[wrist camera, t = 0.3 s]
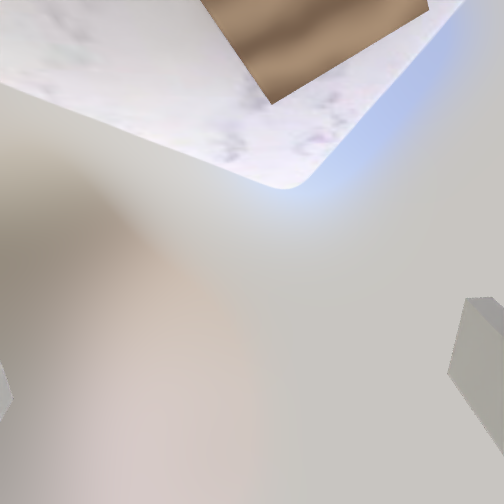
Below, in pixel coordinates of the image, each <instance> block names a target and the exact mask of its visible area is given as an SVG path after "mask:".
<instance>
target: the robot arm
mask: <svg viewBox="0 0 504 504" xmlns="http://www.w3.org/2000/svg"><path fill="white" fill-rule="evenodd" d="M447 374H448V375H449V377H450V378H451V380H452V381H453V383H454V384H455V386H456V387H457V388H458V390H459V391H460V393H461V394H462V396H463V397H464V399H465V400H466V401H467V403H468V404H469V406H470V407H471V409H472V410H473V411H474V413H475V415H476V416H477V418H478V419H479V420H480V422H481V423H482V425H483V426H484V428H485V429H486V431H487V432H488V433H489V435H490V436H491V438H492V439H493V441H494V442H495V444H496V445H497V446H498V448H499V449H500V451H501V452H502V454H503V455H504V308H503V307H502V306H501V305H500V304H499V303H498V302H497V301H496V300H494V298H492V297H483V298H466V299H465V303H464V307H463V311H462V316H461V320H460V324H459V328H458V332H457V336H456V340H455V344H454V348H453V353H452V357H451V361H450V365H449V369H448V373H447ZM13 399H14V398H13V395H12V392H11V389H10V387H9V384H8V381H7V378H6V375H5V372H4V369H3V366H2V364H1V361H0V421H1V419H2V418H3V416H4V414H5V413H6V411H7V409H8V407H9V406H10V404H11V402H12V401H13Z"/></svg>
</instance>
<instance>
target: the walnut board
mask: <svg viewBox="0 0 504 504" xmlns="http://www.w3.org/2000/svg"><path fill="white" fill-rule="evenodd" d="M201 2H202V3H203V5H204V6H205V8H206V9H207V11H208V12H209V14H210V15H211V17H212V18H213V19H214V21H215V22H216V24H217V25H218V27H219V28H220V30H221V31H222V33H223V34H224V36H225V37H226V38H227V40H228V41H229V43H230V44H231V46H232V47H233V49H234V50H235V52H236V53H237V55H238V56H239V57H240V59H241V60H242V62H243V63H244V65H245V66H246V68H247V69H248V71H249V72H250V74H251V75H252V76H253V78H254V79H255V81H256V82H257V84H258V85H259V87H260V88H261V90H262V91H263V93H264V94H265V96H266V97H267V98H268V100H269V101H270V103H271V104H274V103H276V102H277V101H279V100H281V99H282V98H284V97H286V96H287V95H289V94H291V93H292V92H294V91H296V90H297V89H299V88H300V87H302V86H304V85H305V84H307V83H309V82H310V81H312V80H314V79H315V78H317V77H319V76H320V75H322V74H324V73H325V72H327V71H329V70H330V69H332V68H334V67H335V66H337V65H339V64H340V63H342V62H344V61H345V60H347V59H349V58H350V57H352V56H354V55H355V54H357V53H359V52H360V51H362V50H364V49H365V48H367V47H368V46H370V45H372V44H373V43H375V42H377V41H378V40H380V39H382V38H383V37H385V36H387V35H388V34H390V33H392V32H393V31H395V30H397V29H398V28H400V27H402V26H403V25H405V24H407V23H408V22H410V21H412V20H413V19H415V18H417V17H418V16H420V15H422V14H423V13H425V12H427V11H428V10H429V7H428V3H427V0H201Z"/></svg>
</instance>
